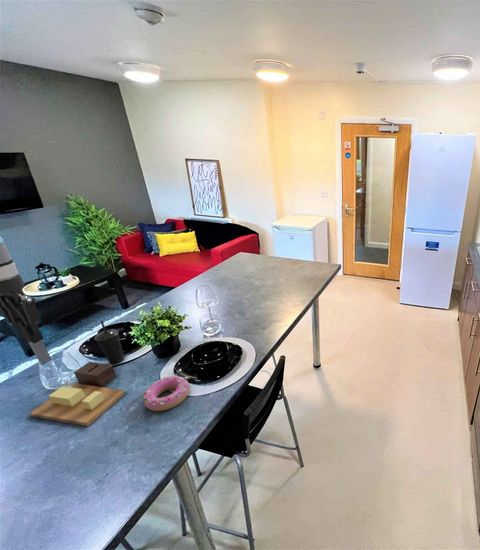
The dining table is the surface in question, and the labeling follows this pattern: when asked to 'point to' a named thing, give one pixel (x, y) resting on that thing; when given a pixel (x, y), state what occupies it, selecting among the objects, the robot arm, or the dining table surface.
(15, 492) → the dining table surface
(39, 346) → the knife
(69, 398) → the butter stick
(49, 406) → the board
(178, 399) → the donut
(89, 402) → the butter pat
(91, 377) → the knife block
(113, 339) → the drinking cup
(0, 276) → the robot arm
